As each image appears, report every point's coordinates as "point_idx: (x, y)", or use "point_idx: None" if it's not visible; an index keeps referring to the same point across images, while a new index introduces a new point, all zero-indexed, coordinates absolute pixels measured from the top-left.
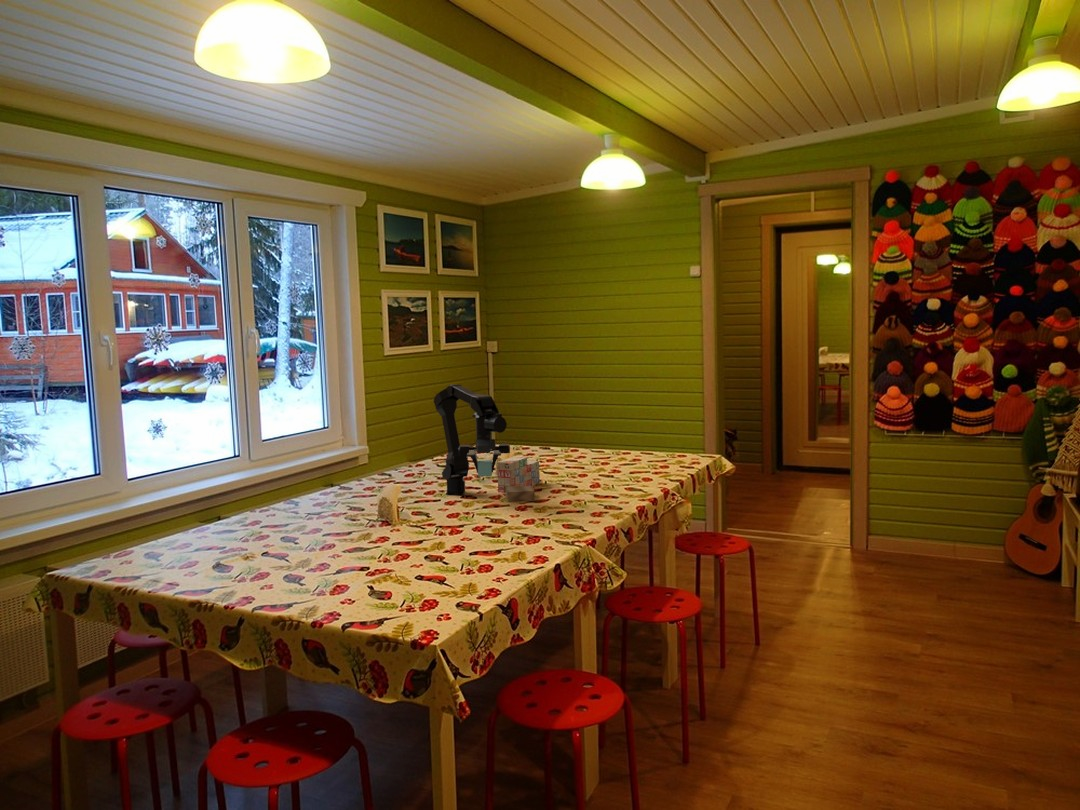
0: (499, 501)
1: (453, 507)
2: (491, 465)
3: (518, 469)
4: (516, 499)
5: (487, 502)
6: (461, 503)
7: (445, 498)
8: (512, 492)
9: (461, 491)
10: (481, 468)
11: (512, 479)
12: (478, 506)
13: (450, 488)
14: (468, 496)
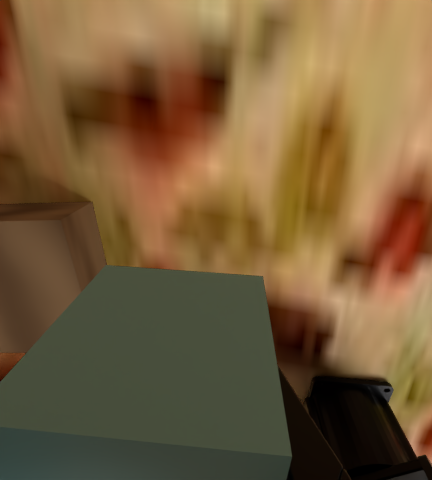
0: (137, 222)
1: (419, 111)
2: (22, 381)
3: None
4: (38, 206)
5: (201, 210)
6: (348, 212)
7: (410, 329)
8: (31, 220)
9: (321, 397)
10: (211, 342)
11: None
12: (255, 114)
13: (382, 414)
14: (292, 344)
